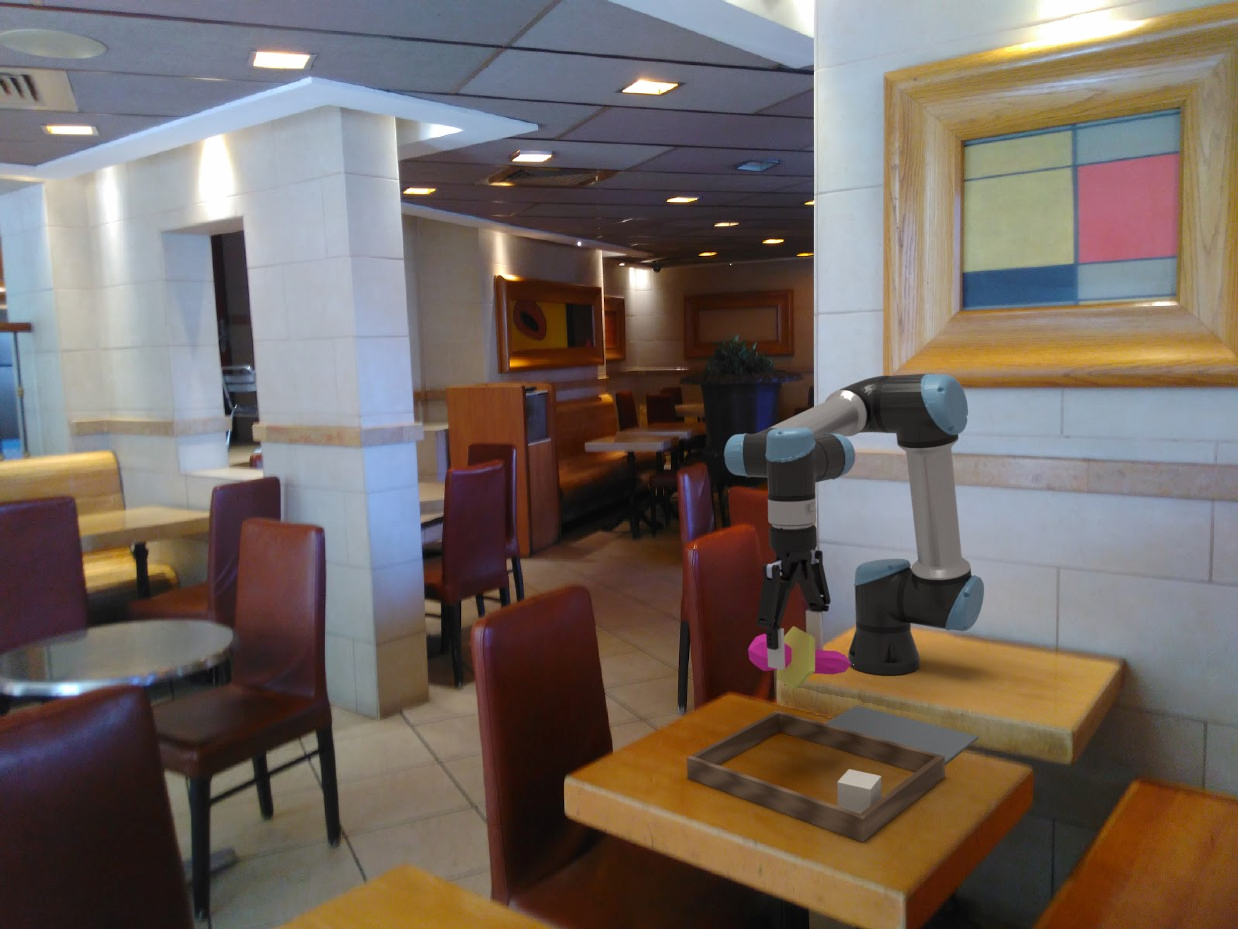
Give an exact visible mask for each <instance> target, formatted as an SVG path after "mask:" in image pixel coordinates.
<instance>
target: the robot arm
mask: <svg viewBox="0 0 1238 929" xmlns="http://www.w3.org/2000/svg"><path fill="white" fill-rule="evenodd" d="M966 396H967V395H966V393H965V390H964V388H963V387H962V385H961V383H960V382H959V381H958V380H957V379H956V377H955V376H952V375H950V374H934V373H932V372H931V373H920V374H918V373H917V374H900V375H879V376H874V377H873V376H872V377H869V378H865V379H863V380H860V381H857V382H854V383H851V384H849V385H847V386H845V387H842V388H840V389H838V390H835V391H833V392H831V393H830V394H829V395H828V396H827V398H826V399H825V400H824V402H822V403H819V404H817V405H815V406H813V407H811V408H809V409H807V410H805V411H802V412H800V413H798V414H796V415H793V416H792V417H790V418H789V417H788V418H787V419H785V420H783V421H781V422H779V423H777V424H774V425H773V426H770V427H767V428H765V429H763V430H761V431H759V432H757V433H747V432H746V433H739V434H734V435H732V436H731V437H729V439H728V440H727V442H726V444H725V446H724V452H723V454H724V463H725V466H726V468H727V470H728V472H730V473H731V474H733V475H735V476H742V477H746V478H751V477H752V478H753V477H754V478H767V492H768V493H767V519H768V520H767V522H768V523H769V524H770V526H769V528H768V539H769V541H768V543H769V548H770V549H771V550H772V551H774V552H775V558H774V562H772V563H763V565H762V578H763V579H762V585H761V591H760V598H759V604H758V610H757V617H756V618H757V619H756V626H757V627H759V628H764V629H765V634H766V639H767V640H766V642H767V648H768V667H771V668H776V669H780V670H784V669H785V649H784V636H785V628H782V627H781V626H782V622H783V618H784V615H785V612H786V609H787V605H788V602H789V599H790V594H791V591H792V590H794V589H795V587H796V584H798V586H799V588H800V590H801V592H802V595H803V597H804V599H805V602H806V604H807V607H808V609H807V610H805V626H806V627H805V628H806V630H805V633H807V634H809V635H811V636H812V637H814V638H815V650H824V630H823V629H824V627H823V626H824V622H823V621H824V620H823V616H824V614H823V612H826V613H827V612H829V609H830V606H829V605H830V604H831V595H830V590H829V587H828V582H827V577H826V572H825V568H824V565H823V564H824V563H823V560H824V559H823V558H824V557H823V555H824V554H823V551H822V550H817V549H816V548H817V547H818V538H817V537H818V536H817V534H818V533H817V532H818V530H817V526H815V523H816V522H817V506H816V483H820V482H823V481H829V480H836V479H838V478H839V477H842V476H844V475H846V474H848V473H849V472H850V471H851V470H852V469H853V466H854V464H855V462H856V451H855V448H854V445H853V444H852V442H851V441H850V439H849V438H848V437H854V436H855V435H858V434H861V433H884V434H895V435H896V441H897V442H896V443H897V446H898V447H899V448H900V449H901V450H903V451H904V452H905V454H906V461H907V471H908V480H909V481H908V482H909V490H910V497H911V498H910V499H911V508H912V516H913V526H914V534H915V536H914V537H915V544H916V555H917V560H916V561H914V563H913V564H912V565H911V563H910V561H909V560H908V559H904V558H886V559H885V558H884V559H878V560H877V559H874V560H871V561H866V562H863V563H861V564H859V565H858V566H857V567H856V569H855V573H854V583H853V584H854V585H853V586H854V600H855V601H854V602H855V603H854V604H855V605H854V606H855V607H854V608H855V631H854V634H853V638H852V640H851V644H850V647H849V649H848V653H847V654H848V655H847V656H848V657H847V659H848V660H849V661H850V663H851V665H850V666H849V667H851V668H853V669H854V670H857V671H859V672H863V673H867V674H870V675H871V674H872V675H881V676H897V675H906V674H910V673H913V672H915V671H916V670H918V669H919V668H920V654H919V651H918V648H917V646H916V642H915V640H914V637H913V634H912V629H911V627H912V626H911V625H913V624H914V625H919V626H925V627H930V628H931V627H932V628H935V629H937V628H938V629H943V630H946V631H958V632H964V631H968V630H970V629H971V628H973V626H974V625H975V624H976V622H977V621H978V618H979V615H980V613H981V610H982V607H983V603H984V602H983V601H984V598H985V597H984V596H985V585H984V581H983V580H982V578H981V577H979V576H978V575H975V574H974V575H973V574H972V570H971V563H970V562H969V560H967V559H966V558H964V557H963V556H962V546H961V537H960V536H961V534H960V526H959V515H958V514H959V513H958V504H957V494H956V493H957V492H956V485H955V473H954V461H953V453H952V452H953V451H952V448H953V446H954V445H955V444H956V443H957V442H958V441H959V435H960V434H961V433H963V432H964V431H965V429H966V426H967V425H968V417H967V416H968V415H969V406H968V400H967V397H966ZM853 664H854V665H853Z"/></svg>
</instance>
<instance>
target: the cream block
mask: <svg viewBox="0 0 1238 929" xmlns="http://www.w3.org/2000/svg"><path fill="white" fill-rule="evenodd" d="M836 785H837V786H836V787H837V789H836V790H837V806H839V807H841V808H844V809H847V810H850V811H853V812H856V813H859V814H860V813H862V812H863V811H864V810H866V809H867V808H868V807H870V806H871V805H872V804H874V803H875V802H876V801H878V800H879V799H880V798H882V797H883V795H882V791H883V790H882V775H878V774H873V773H868V772H864V771H860V770H857V769H856V770H855V769H850V768H849V769H847V771H846V772H845V773H844V774H843V775H842V776H841V777H840V779H838V781H837V783H836Z"/></svg>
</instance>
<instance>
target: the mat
mask: <svg viewBox="0 0 1238 929" xmlns="http://www.w3.org/2000/svg"><path fill="white" fill-rule="evenodd" d="M824 723H825V724H828V725H832V726H836V727H839V728H843V729H847V730H850V731H854V732H857V733H861V734H865V735H868V736H872V737H876V738H879V739H883V740H887V741H890V742H894V743H898V744H901V745H905V746H909V747H912V748H916V749H919V750H923V751H927V752H930V753H934V754H938V755H941V756H945V765H947V763H948V764H949V762H951V761H952V760H953V759H954V758H955V757H957V756H958V755H960V754H961V753H962V752H963V751H964V750H967V748H968V747H970V746H971V745H972V744H973V743H975V742H976V741H978V740H979V738H980V736H979V735H977V734H976V735H975V734H973V733H969V732H968V733H967V732H964V731H960V730H956V729H953V728H947V727H944V726H939V725H937V724H932V723H927V722H925V721H919V720H916V719H912V718H910V717H909V718H907V717H904V716H899V715H897V714H893V713H888V712H885V711H880V710H876V709H872V708H868V707H864V706H861V705H857V704H856V705H855V706H853V707H851V708H849V709H847V710H846V711H843V712H842V713H841V714H838V715H837V716H836V717H833V718H832V719H830V720H829V721H827V722H824Z"/></svg>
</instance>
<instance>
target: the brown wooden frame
mask: <svg viewBox="0 0 1238 929" xmlns="http://www.w3.org/2000/svg"><path fill="white" fill-rule="evenodd" d="M825 723H826V722H821V721H816V720H814V719H809V718H806V717H801V716H798V715H795V714H791V713H788V712H784V711H781V710H775V711H772V712H771V713H769V714H768V715H766V716H764V717H763V718H760V719H758V720H755V721H754V722H753V723H751V724H749V725H747V726H745V727H742V728H741V729H739V730H737V731H735V732H733V733H731V734H729V735H727V736H725V737H723V738H721V739H720V740H718V741H716V742H714V743H712V744H710V745H708V746H707V747H704V748H702V749H701V750H699V751H697V752H695V753H692V754H691V755H689V756H687V757H686V772H687V773H686V775H687V779H689V780H692V781H695V782H697V783H700V784H703V785H705V786H708V787H711V788H713V789H716V790H719V791H722V792H725V793H728V794H730V795H733V796H735V797H738V798H741V799H743V800H746V801H749V802H751V803H755V804H757V805H760V806H763V807H765V808H767V809H771V810H774V811H776V812H778V813H782V814H784V815H787V816H790V817H793V818H795V819H798V820H800V821H802V822H807V823H809V824H811V825H814V826H817V827H820V828H822V829H825V830H827V831H831V832H833V833H836V834H839V835H842V836H844V837H847V838H850V839H852V840H855V841H858V842H861V843H865V841H867V840H868V839H870V838H871V837H872V836H874V834H876V833H877V832H878V831H879V830H881V829H882V828H884V827H885V826H886V825H887V824H889V822H891V821H892V820H894V819H895V818H896V817H897V816H899V815H900V814H901V813H902V812H904V811H905V810H906V809H907V808H908V807H909V806H911V805H913V803H915V802H916V801H917V800H918V799H919V798H921V797H922V796H924V795H925V794H926V793H927V792H928V791H930V790H931V789H932V788H934V787H935V786H936V785H938V784H939V782H941V781H942V780H943V779H944V778H945V777H946V772H945V771H946V768H945V767H946V764H945V756H941V755H938V754H934V753H930V752H927V751H923V750H919V749H916V748H912V747H909V746H905V745H901V744H898V743H894V742H890V741H887V740H883V739H879V738H876V737H872V736H868V735H865V734H861V733H857V732H854V731H850V730H847V729H843V728H839V727H836V726H832V725H828V724H825ZM778 733H782V734H785V735H789V736H792V737H796V738H799V739H802V740H805V741H809V742H813V743H816V744H820V745H824V746H826V747H830V748H832V749H837V750H839V751H844V752H846V753H850V754H853V755H857V756H861V757H864V758H868V759H871V760H874V761H877V762H881V763H884V764H888V765H891V766H894V767H899V768H901V769H905V770H908V771H911V772H912V771H913V772H914V773H912V774H911V775H909V776H908V777H907V778H906V779H904V780H903V781H901V782H900V783H899V784H898V785H897V786H895V787H894V788H892V789H891V790H889V791H888V792H887V793H885V795H882V798H880V799H879V800H878V801H876V802H875V803H874V804H872V805H871V806H870V807H868V808H867V809H866V810H864V811H863V812H862V813H860V814H859V813H856V812H853V811H850V810H847V809H844V808H841V807H839V806H838V805H835V804H832V803H830V802H826V801H824V800H820V799H819V798H814V797H812V796H809V795H807V794H803V793H801V792H797V791H795V790H791V789H789V788H786V787H782V786H780V785H778V784H774V783H772V782H769V781H765V780H762V779H759V778H756V777H753V776H750V775H748V774H745V773H742V772H739V771H737V770H733V769H730V768H728V767H724V766H722V765H721V764H724V763H725V762H727V761H729V760H731V759H733V758H735V757H736V756H737V755H740V754H741V753H744V752H745V751H748V750H749V749H750V748H753V747H754V746H756V745H758V744H759V743H762V742H763V741H765V740H767V739H769V738H771V737H772V736H774V735H775V734H778Z"/></svg>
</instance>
